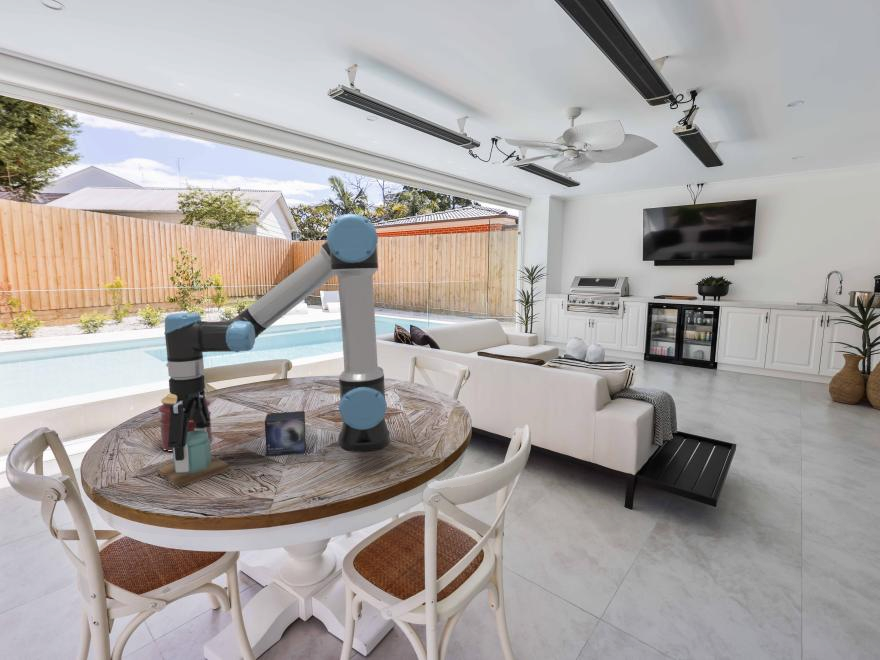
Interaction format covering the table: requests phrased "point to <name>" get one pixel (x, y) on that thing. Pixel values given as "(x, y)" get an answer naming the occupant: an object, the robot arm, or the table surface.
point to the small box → (285, 433)
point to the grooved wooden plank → (188, 478)
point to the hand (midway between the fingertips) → (192, 461)
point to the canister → (165, 420)
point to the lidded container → (197, 451)
